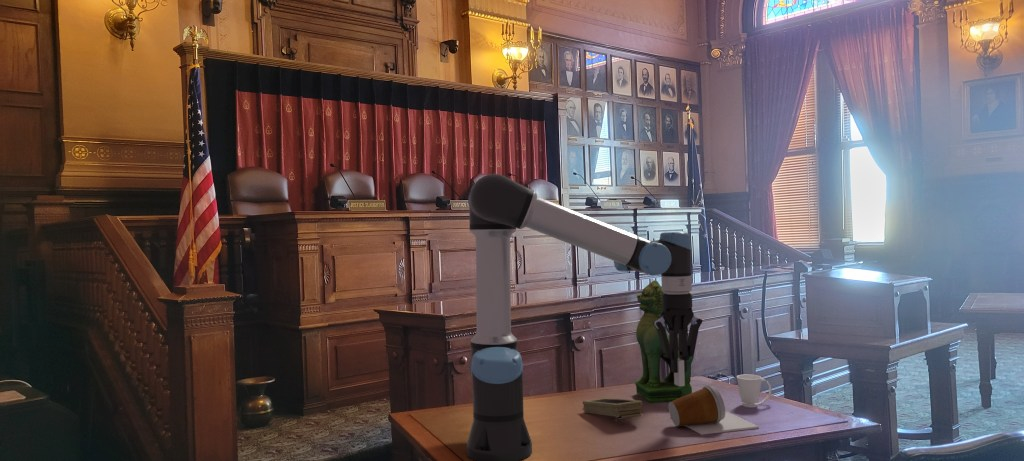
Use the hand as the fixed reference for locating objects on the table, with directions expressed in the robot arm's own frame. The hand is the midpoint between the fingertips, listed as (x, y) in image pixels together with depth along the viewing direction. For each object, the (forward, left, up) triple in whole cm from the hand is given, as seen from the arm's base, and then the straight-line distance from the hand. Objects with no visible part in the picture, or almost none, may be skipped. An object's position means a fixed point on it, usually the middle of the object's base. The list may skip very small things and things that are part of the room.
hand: (679, 384), depth 183 cm
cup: (+29, +12, -11) cm, 34 cm away
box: (-13, +15, -11) cm, 23 cm away
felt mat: (+9, 0, -11) cm, 14 cm away
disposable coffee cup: (-2, 0, -7) cm, 8 cm away
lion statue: (+10, +29, -11) cm, 33 cm away
